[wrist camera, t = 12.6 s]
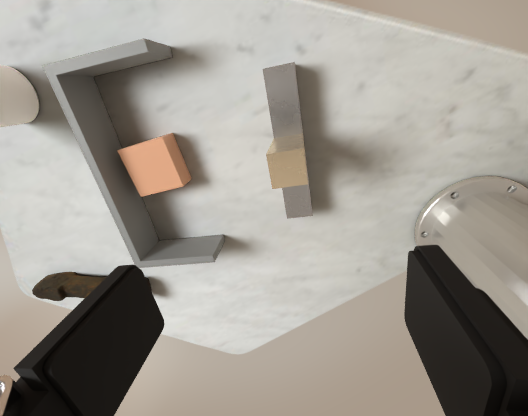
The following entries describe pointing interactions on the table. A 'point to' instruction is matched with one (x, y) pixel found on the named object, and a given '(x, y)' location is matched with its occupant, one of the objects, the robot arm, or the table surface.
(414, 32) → the table surface
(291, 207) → the scraper
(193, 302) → the table surface
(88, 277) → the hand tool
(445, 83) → the table surface
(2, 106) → the can
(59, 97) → the box
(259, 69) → the table surface
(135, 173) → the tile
